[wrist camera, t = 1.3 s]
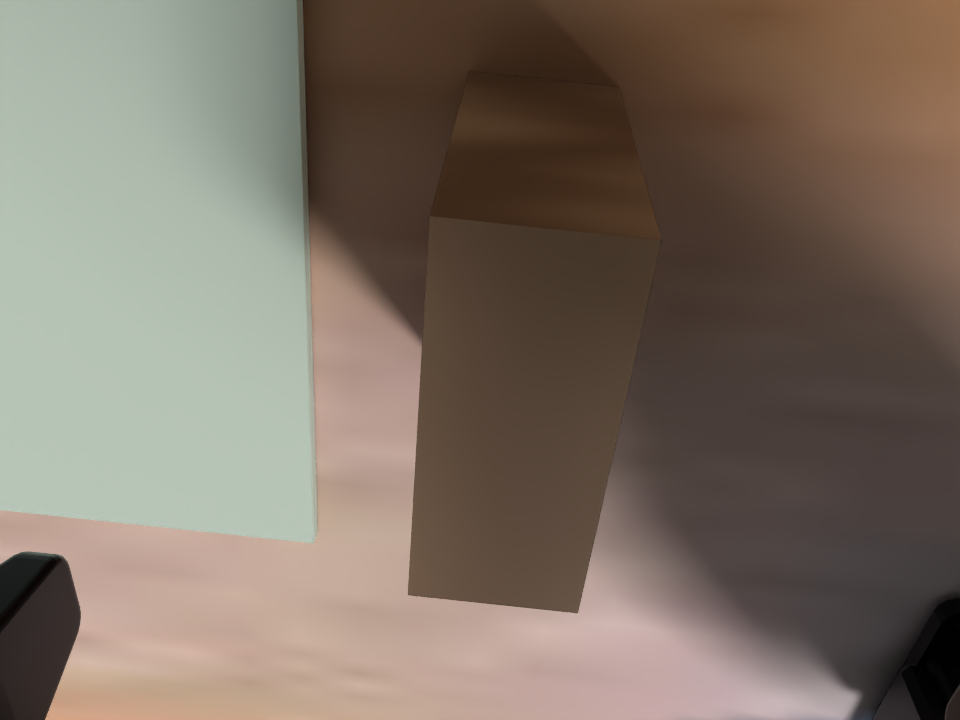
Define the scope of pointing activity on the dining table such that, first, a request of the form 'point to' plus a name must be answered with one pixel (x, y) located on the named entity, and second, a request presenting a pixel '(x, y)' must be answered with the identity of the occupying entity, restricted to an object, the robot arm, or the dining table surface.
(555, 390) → the walnut slab
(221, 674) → the dining table surface
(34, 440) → the mat
